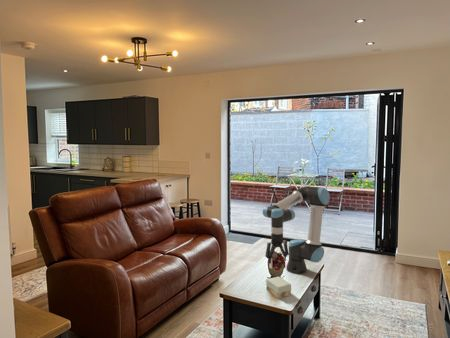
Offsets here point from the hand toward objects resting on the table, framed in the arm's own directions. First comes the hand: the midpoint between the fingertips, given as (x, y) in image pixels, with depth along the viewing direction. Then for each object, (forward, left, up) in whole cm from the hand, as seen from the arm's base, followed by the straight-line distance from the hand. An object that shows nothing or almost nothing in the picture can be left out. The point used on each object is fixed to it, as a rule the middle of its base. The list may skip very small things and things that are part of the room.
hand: (277, 266), depth 227 cm
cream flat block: (-1, 0, -14) cm, 14 cm away
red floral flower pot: (0, 0, -1) cm, 1 cm away
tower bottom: (-1, 0, -18) cm, 18 cm away
